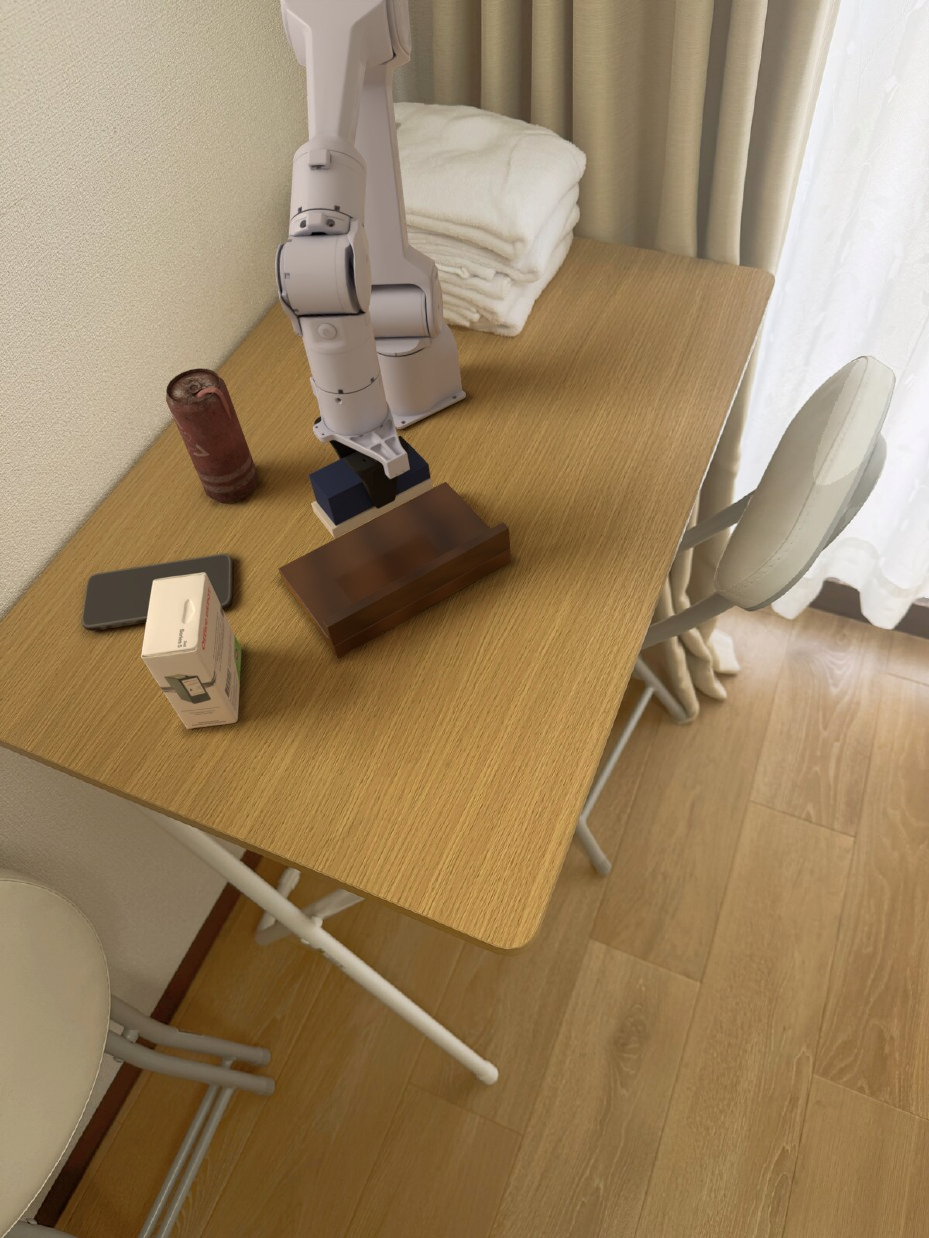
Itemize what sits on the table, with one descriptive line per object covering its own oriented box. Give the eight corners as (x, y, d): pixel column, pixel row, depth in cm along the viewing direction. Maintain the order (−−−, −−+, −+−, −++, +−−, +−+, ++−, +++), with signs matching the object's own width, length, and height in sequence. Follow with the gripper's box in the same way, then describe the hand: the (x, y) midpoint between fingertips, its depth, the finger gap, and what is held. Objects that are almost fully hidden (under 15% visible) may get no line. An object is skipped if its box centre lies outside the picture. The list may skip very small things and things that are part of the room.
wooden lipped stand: (447, 494, 98) (442, 460, 95) (511, 561, 92) (509, 527, 88) (282, 581, 93) (270, 548, 89) (338, 659, 86) (327, 627, 82)
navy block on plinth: (334, 538, 86) (323, 502, 82) (313, 511, 88) (302, 475, 85) (433, 488, 89) (427, 451, 85) (410, 463, 92) (403, 426, 88)
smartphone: (231, 605, 90) (79, 629, 90) (233, 610, 91) (82, 635, 91) (231, 550, 95) (86, 573, 94) (234, 556, 96) (90, 579, 95)
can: (251, 507, 100) (212, 406, 89) (197, 502, 101) (152, 402, 90) (269, 469, 103) (234, 367, 92) (217, 464, 104) (176, 363, 93)
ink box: (193, 654, 88) (149, 576, 79) (244, 648, 88) (206, 569, 79) (185, 730, 83) (137, 656, 74) (239, 724, 83) (198, 649, 74)
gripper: (267, 350, 80) (302, 465, 91) (345, 438, 72) (373, 552, 83) (338, 319, 82) (363, 435, 93) (421, 401, 74) (439, 518, 85)
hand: (372, 488), depth 88 cm, fingers closed on navy block on plinth, 4 cm apart
